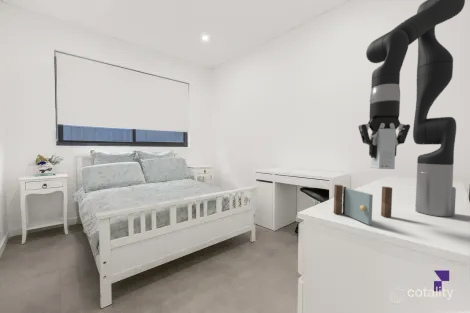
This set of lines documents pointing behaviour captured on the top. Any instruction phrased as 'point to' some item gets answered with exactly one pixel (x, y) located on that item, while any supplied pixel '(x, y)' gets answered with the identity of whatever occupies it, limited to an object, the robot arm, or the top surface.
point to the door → (358, 205)
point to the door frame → (385, 205)
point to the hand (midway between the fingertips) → (382, 157)
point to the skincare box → (385, 150)
